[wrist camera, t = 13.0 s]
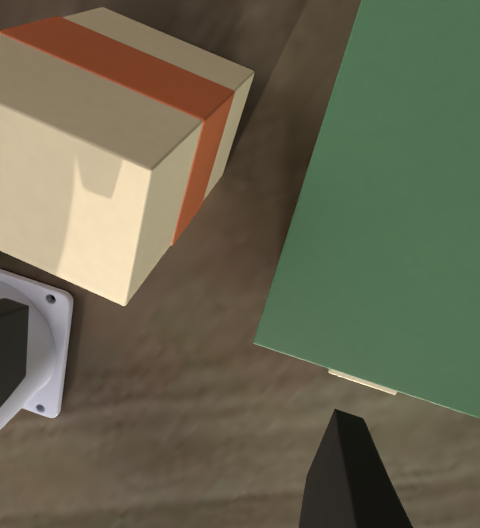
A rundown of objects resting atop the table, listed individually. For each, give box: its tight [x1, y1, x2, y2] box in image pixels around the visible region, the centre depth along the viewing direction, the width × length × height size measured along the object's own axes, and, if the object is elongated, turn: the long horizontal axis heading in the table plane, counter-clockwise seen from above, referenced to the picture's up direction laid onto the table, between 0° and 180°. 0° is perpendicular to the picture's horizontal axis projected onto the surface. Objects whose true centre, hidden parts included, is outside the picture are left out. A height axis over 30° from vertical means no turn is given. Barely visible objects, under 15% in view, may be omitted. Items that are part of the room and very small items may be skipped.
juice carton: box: [0, 7, 254, 306], centre depth 14 cm, size 4×6×8 cm
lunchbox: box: [253, 0, 480, 418], centre depth 15 cm, size 8×14×5 cm, turn 165°
